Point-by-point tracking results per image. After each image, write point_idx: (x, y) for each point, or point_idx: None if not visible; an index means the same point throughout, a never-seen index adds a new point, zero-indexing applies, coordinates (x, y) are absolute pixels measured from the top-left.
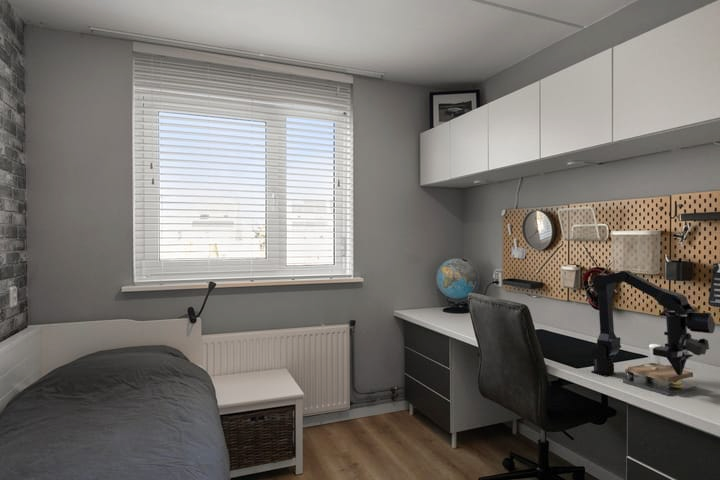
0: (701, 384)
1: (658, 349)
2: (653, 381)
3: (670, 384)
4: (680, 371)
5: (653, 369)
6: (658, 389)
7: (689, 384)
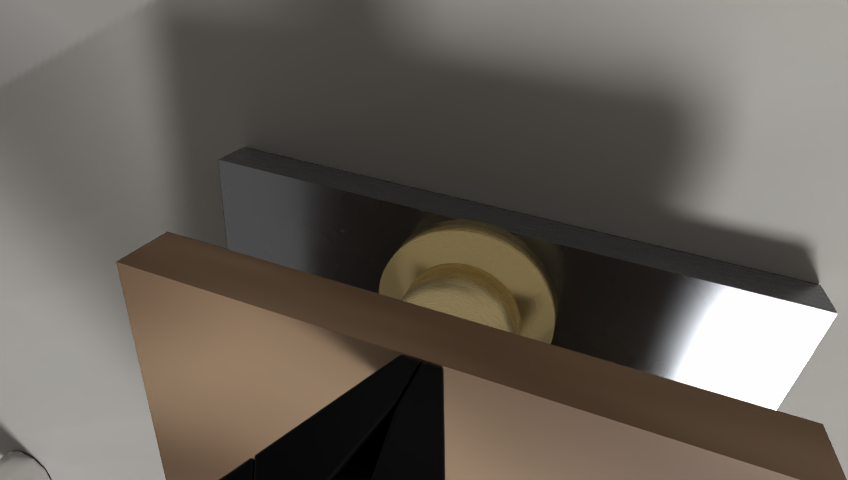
0: (73, 168)
1: None
2: None
3: None
4: (432, 411)
5: None
6: None
7: (238, 223)
